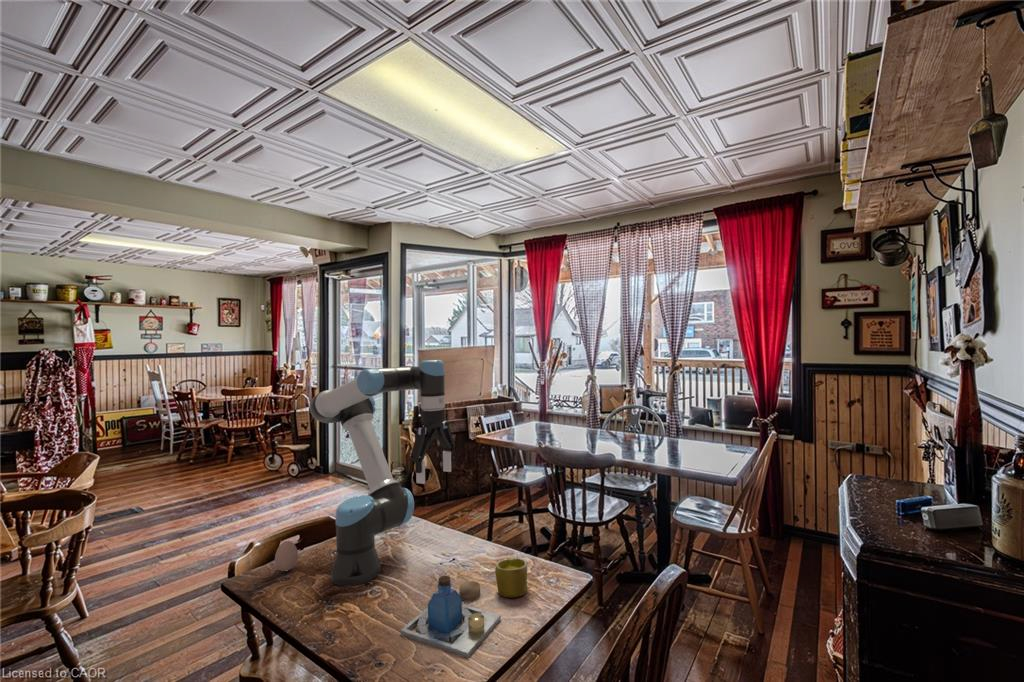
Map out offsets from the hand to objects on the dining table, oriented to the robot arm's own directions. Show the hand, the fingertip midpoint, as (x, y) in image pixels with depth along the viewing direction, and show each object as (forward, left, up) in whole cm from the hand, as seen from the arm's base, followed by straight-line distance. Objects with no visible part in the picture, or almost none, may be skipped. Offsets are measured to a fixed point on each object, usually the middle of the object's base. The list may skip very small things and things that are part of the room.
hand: (434, 477), depth 139 cm
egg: (-49, -16, -32) cm, 61 cm away
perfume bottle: (+16, -18, -32) cm, 40 cm away
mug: (+24, +5, -32) cm, 40 cm away
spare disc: (+14, -3, -32) cm, 35 cm away
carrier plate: (+18, -18, -32) cm, 41 cm away
